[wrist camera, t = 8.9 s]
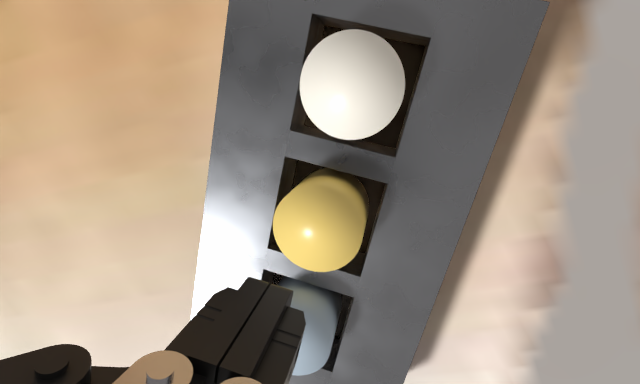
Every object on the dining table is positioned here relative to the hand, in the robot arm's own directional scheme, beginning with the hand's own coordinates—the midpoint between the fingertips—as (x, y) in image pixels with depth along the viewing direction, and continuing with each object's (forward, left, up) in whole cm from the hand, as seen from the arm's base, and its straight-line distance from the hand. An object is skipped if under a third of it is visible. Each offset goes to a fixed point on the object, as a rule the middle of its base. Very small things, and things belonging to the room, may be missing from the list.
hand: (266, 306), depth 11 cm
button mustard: (0, 0, -11) cm, 11 cm away
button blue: (0, -7, -11) cm, 13 cm away
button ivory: (0, +7, -11) cm, 13 cm away
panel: (0, 0, -11) cm, 11 cm away
